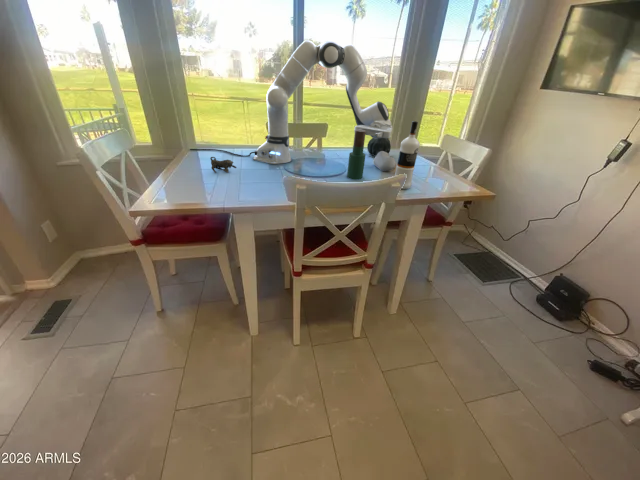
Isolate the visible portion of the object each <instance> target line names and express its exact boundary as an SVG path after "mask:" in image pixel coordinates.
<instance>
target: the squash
mask: <svg viewBox="0 0 640 480" xmlns="http://www.w3.org/2000/svg"><path fill="white" fill-rule="evenodd" d="M366 146H367V148H366V149H367V153H368V154H370V155H371V156H375V157H376V155H377V154H378V153H379V152H380V151H384V152H387V153H388V154H390V152H391V149H392V147H391V146H392V145H391V141H390V138H389V139H386V138H372V137H371V138H370V139H369V141H368V142H367V145H366Z"/></svg>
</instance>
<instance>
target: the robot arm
mask: <svg viewBox="0 0 640 480" xmlns="http://www.w3.org/2000/svg"><path fill="white" fill-rule="evenodd" d="M315 65H319V66H321V67H323V68H325V69H332V68H335V67H340V69H341V70H342V72H343V74H344V76H345V79H346V86H345V92H346V93H345V94H346V96H347V100H348V102H349V105H350V108H351V110H352V113H353V116H354V117H353V118H354V120H355V121H354V122H355V124H356V125H355V126H354V130H353V133H355V130H357V129H360V130H365V131H366V133H365V136H370V137H371V139H372V138H386V139H389V140H390V139H391V138H392V134H393V129H394V128H393V127H394V126H393V125H392V121H391V120H390V119H389V118H390V113H389V109H388V107H387V105H386V104H385V103H383V102H382V101H380V100H379V101H376V102H375V103H373V104H370V105H369V106H367V107H365V108H362V107H361V105H360V102H359V99H358V95H357V94H358V92H359V90H360V88H361V87H362V86H363V85H364V83H365V82H366V79H367V76H368V69H367V67H366V64H365V62H364V59H363V58H362V56H361V54H360V53H359V51H358V50H357V48H356V47H355V46H354V45H353V44H352V43H346V44H344V45H342V46H341V45H340V44H338V43H337V42H334V41H328V40H327V41H324V42H322V43H319V44H318V45H316V44H315V43H314V42H313V41H311V40H308V39H307V40H304V41H302V42H301V43H300V44H299V45H298V46H297V48H296V49H295V50H294V51H293V53H292V54H291V56H290V57H289V58H288V60H287V62H286V63H285V65H284V66H283V67H282V69H281V70H280V72H279V73H278V74H277V76H276V78H275V79H274V81H273V82H272V84H271V85H270V86H269V88H268V90H267V92H266V96H265V97H266V98H265V99H266V101H265V102H266V112H267V127H268V134H267V135H266V136H265V137H264V139H265V140H266V141H264V143H263V144H261V145H259V147H258V148H257V149H256V150H254V151H251V152H249V154H248V155H242V154H237V153H233V152H231V151H228V150H224V149H216V148H189V151H217V152H223V153H228V154H230V155H233V156H238V157H244V158H245V157H247V158H248V157H250V156H251V155H252V154H254V156H253V161H257V162H261V163H266V164H270V165H279V164H286V163H290V162H291V161H292V156H291V152H290V135H289V100H290V98H291V97H292V95H293V94H294V93H295V92H296V91H297V89H298V88H299V86H300V85H301V84H302V82H303V81H304V80H305V78H306V77H307V75H308V74H309V73H310V72H311V70H312V68H313V67H314V66H315Z"/></svg>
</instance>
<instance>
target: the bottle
mask: <svg viewBox="0 0 640 480" xmlns="http://www.w3.org/2000/svg"><path fill="white" fill-rule="evenodd" d="M364 148H365V146H364V147H355V146H353V145H352V151H351V152H349V155H348V164H347V173H346V177H347V178H348V179H350V180H353V181H357V180H363V177H364V170H365V162H366V153H364Z"/></svg>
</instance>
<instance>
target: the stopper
mask: <svg viewBox="0 0 640 480" xmlns="http://www.w3.org/2000/svg"><path fill="white" fill-rule="evenodd" d="M365 133H366V131H365V130H360V129H357V130H355V132H354V136H353V145H352V147H353V146H355V147H364V148H365V141H366V135H365Z"/></svg>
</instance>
